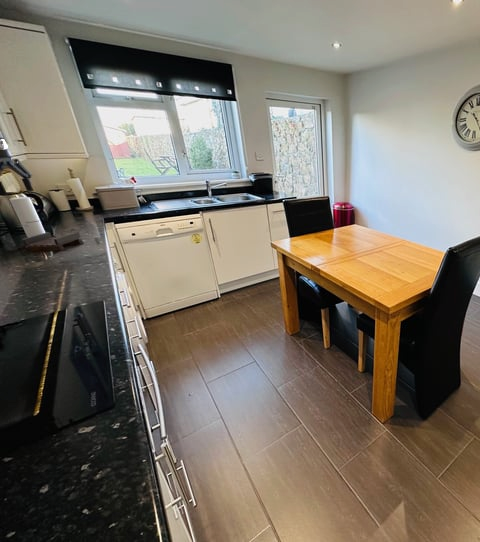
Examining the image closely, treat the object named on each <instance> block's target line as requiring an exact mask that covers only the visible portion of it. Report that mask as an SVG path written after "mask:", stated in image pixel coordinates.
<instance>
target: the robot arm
mask: <svg viewBox="0 0 480 542" xmlns="http://www.w3.org/2000/svg"><path fill="white" fill-rule="evenodd" d="M8 148H9V146H8V144H7V142H6V141H5V138H4V136H3V134H2V131H1V130H0V177H1V176H2V173H3V171H4V170H11V171H12V172H14V173H16V174H17V175H18V176H19V177H21V181H22V183H23V185H24V188H25V190H26V192H34V189H33V186H32V182H31V178H32V177H33V174H32V173H30V171H29V170H28V169H27V168H26V167H25V166H24V165H23V164H22V163H21V162H20V160H19V158H13V155H12V153H11V151H10V150H9V149H8ZM8 195H9V194H8V192H7V190H6V188H5V187H4V184H3V182H2V180H0V196H8Z"/></svg>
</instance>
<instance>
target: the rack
mask: <svg viewBox="0 0 480 542" xmlns="http://www.w3.org/2000/svg"><path fill="white" fill-rule="evenodd" d="M21 241H22V243H23V245H24V246H25V249H26V251H27V253H28V252H65V251H66V249H65V247H64V246H81V245H84V242H83V239H82V238H81V234H80V232H79V231H75V232H71V233H68V234H66V235H62V236H57V237H56V236H55V237H54V236H53V237H52V235H51V232H50V231H45V233H43V234H39V235H36V236H32V237H29V238H28V237H26V238H21Z"/></svg>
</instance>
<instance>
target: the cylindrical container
mask: <svg viewBox="0 0 480 542" xmlns="http://www.w3.org/2000/svg"><path fill="white" fill-rule="evenodd" d="M9 201H10V204H11V206H12V207H13V209H14V212H15V214H16V216H17V218H18V220H19V223H20V225H21V226H22V229H23V230H24V233H25V235H26V238H29V237H32V236H36V235H39V234H43V233H46V230H45V228H44V226H43V224H42V222H41V219H40V217H39V215H38V213H37V210H36V208H35V206H34V204H33V202H32V200H31V197H29V196H22V197H21V196H20V197H12V198H9Z"/></svg>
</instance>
